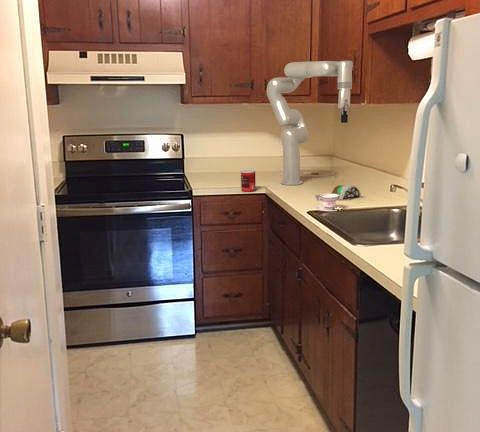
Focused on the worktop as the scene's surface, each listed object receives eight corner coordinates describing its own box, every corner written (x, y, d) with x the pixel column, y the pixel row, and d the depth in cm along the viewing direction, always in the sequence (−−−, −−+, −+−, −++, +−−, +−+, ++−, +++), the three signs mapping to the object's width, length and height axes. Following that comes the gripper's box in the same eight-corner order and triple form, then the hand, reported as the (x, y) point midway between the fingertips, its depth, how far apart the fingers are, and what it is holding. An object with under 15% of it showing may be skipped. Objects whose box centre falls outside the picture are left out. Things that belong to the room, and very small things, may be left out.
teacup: (340, 205, 247) (341, 192, 246) (344, 211, 235) (345, 197, 234) (314, 206, 248) (314, 193, 246) (317, 212, 236) (317, 198, 234)
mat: (315, 195, 271) (315, 195, 271) (347, 195, 270) (347, 194, 270) (317, 200, 260) (317, 199, 259) (351, 200, 259) (351, 199, 259)
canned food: (255, 189, 292) (254, 169, 290) (256, 192, 285) (255, 171, 282) (241, 189, 292) (240, 169, 290) (241, 192, 284) (241, 171, 282)
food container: (348, 181, 271) (362, 184, 263) (348, 193, 273) (361, 197, 264) (329, 184, 265) (342, 187, 257) (329, 196, 267) (342, 199, 258)
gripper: (335, 86, 282) (335, 122, 286) (339, 86, 267) (338, 123, 271) (350, 86, 281) (349, 121, 285) (354, 85, 267) (353, 123, 271)
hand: (344, 122), depth 278 cm, fingers closed
